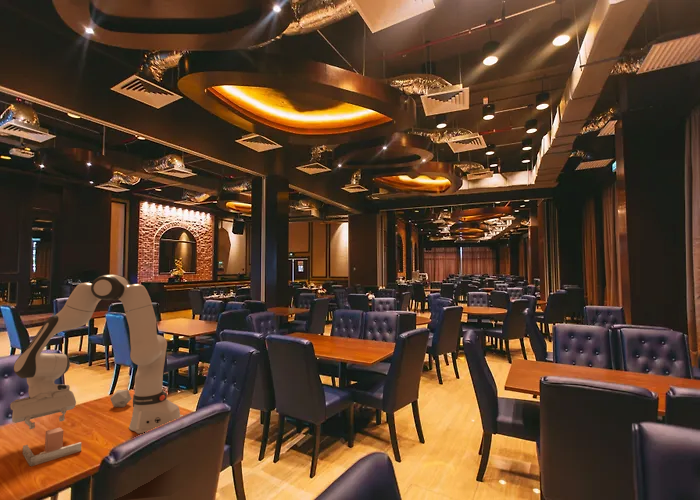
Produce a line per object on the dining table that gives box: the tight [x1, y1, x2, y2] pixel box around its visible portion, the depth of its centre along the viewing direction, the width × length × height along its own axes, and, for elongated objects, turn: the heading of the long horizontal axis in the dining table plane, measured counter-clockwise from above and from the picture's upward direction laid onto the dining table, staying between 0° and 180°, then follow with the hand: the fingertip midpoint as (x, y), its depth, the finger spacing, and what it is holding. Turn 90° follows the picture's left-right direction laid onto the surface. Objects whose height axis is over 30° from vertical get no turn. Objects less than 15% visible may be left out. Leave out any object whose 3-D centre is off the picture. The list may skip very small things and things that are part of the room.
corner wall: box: [22, 441, 82, 467], centre depth 141 cm, size 14×15×3 cm
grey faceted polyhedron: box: [109, 389, 133, 408], centre depth 189 cm, size 8×9×10 cm
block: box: [44, 426, 64, 452], centre depth 141 cm, size 4×4×8 cm
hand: (47, 424), depth 149 cm, fingers open, 8 cm apart
